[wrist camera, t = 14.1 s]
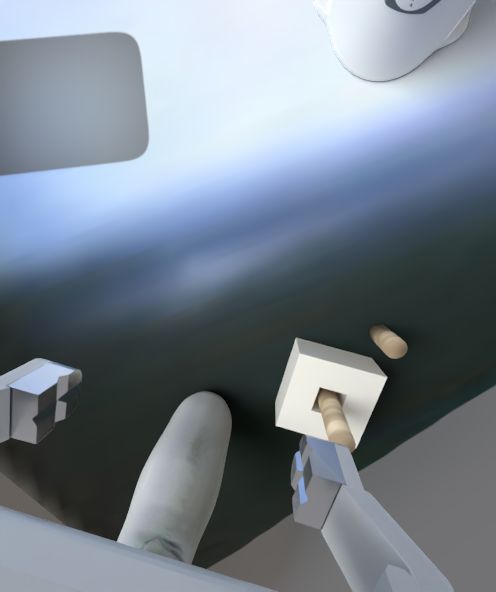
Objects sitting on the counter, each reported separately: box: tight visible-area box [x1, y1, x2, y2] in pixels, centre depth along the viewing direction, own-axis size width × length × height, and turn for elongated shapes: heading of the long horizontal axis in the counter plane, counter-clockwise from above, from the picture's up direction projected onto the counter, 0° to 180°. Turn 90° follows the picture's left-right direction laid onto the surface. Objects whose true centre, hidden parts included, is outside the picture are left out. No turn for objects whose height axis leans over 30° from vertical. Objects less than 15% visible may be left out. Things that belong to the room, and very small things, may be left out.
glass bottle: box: [117, 391, 232, 565], centre depth 34 cm, size 10×10×28 cm
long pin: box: [317, 387, 356, 453], centre depth 37 cm, size 3×3×14 cm
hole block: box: [275, 338, 387, 448], centre depth 41 cm, size 13×13×6 cm
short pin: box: [369, 324, 407, 359], centre depth 38 cm, size 3×3×6 cm
